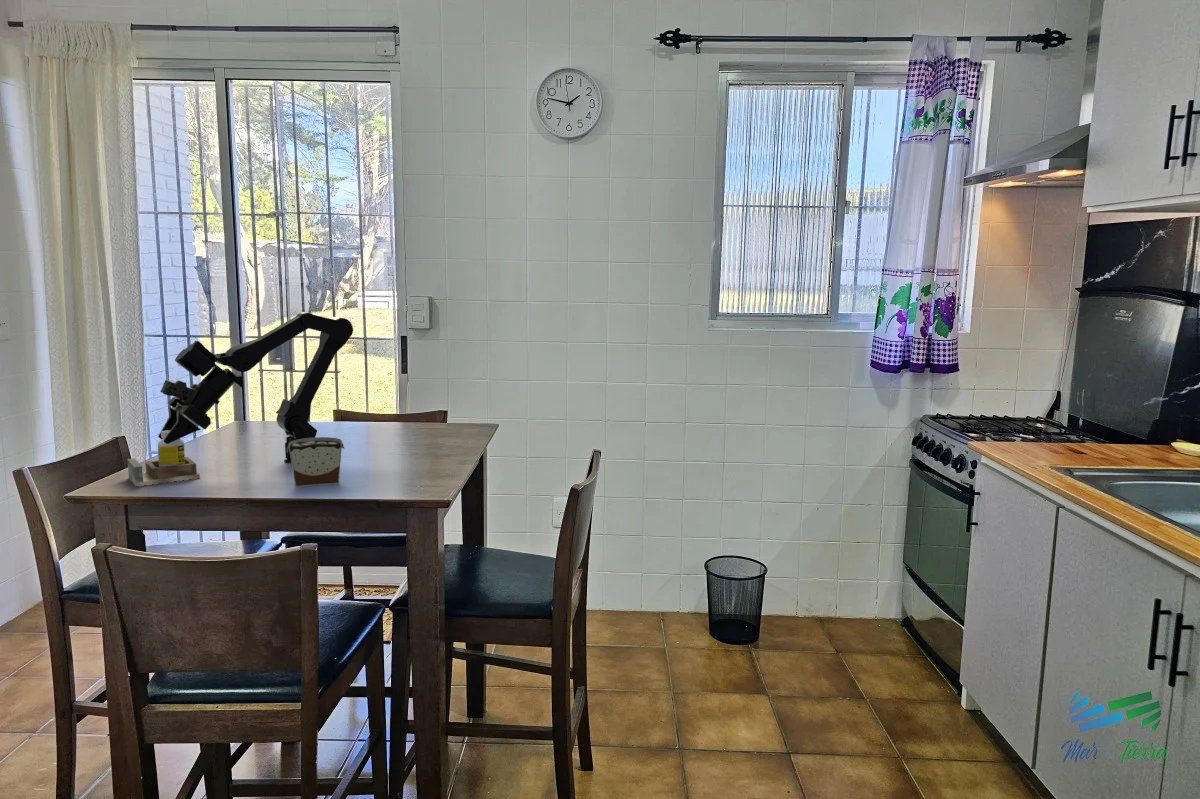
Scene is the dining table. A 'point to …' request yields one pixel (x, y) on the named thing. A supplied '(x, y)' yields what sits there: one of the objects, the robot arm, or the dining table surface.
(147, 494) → the dining table surface
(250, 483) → the dining table surface
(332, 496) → the dining table surface
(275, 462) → the dining table surface
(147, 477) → the wooden display tray
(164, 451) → the supplement bottle
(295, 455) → the food container
